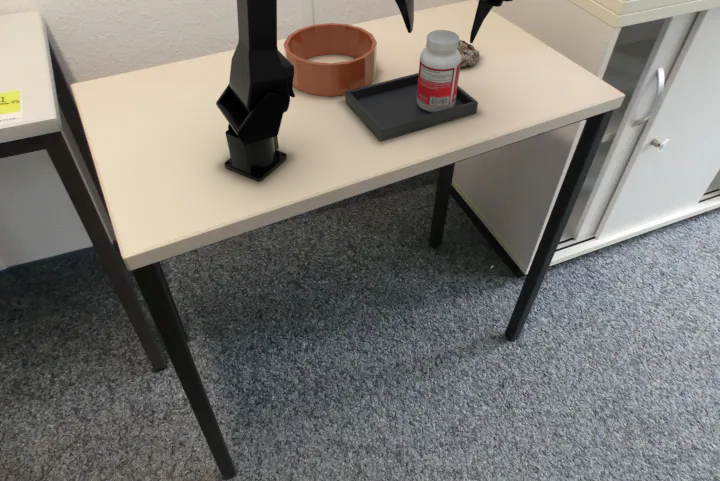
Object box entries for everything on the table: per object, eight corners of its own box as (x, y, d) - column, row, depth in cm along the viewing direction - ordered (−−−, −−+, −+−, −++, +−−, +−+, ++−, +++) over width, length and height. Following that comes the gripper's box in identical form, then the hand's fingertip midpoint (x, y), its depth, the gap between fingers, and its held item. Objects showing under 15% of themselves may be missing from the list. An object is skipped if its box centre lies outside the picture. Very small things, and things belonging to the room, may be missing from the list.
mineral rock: (492, 54, 92) (451, 46, 89) (482, 77, 95) (442, 71, 92) (468, 30, 100) (431, 22, 97) (460, 52, 102) (423, 45, 100)
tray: (380, 141, 78) (380, 130, 76) (345, 102, 86) (344, 91, 84) (476, 113, 83) (478, 102, 82) (435, 78, 91) (436, 68, 89)
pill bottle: (435, 90, 87) (443, 23, 79) (462, 105, 84) (473, 37, 76) (408, 102, 85) (413, 35, 77) (435, 118, 81) (443, 50, 73)
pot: (345, 105, 85) (344, 73, 81) (269, 80, 91) (265, 50, 87) (391, 65, 94) (392, 35, 90) (319, 45, 100) (318, 16, 96)
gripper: (539, -95, 68) (514, 24, 79) (402, -108, 73) (397, 6, 84) (526, -71, 61) (500, 57, 72) (375, -87, 66) (373, 35, 77)
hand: (440, 36), depth 77 cm, fingers open, 9 cm apart
